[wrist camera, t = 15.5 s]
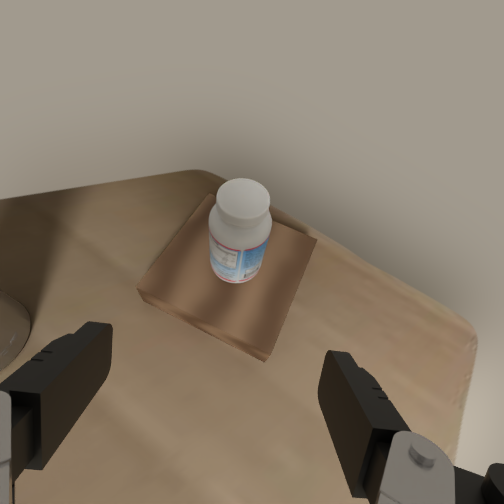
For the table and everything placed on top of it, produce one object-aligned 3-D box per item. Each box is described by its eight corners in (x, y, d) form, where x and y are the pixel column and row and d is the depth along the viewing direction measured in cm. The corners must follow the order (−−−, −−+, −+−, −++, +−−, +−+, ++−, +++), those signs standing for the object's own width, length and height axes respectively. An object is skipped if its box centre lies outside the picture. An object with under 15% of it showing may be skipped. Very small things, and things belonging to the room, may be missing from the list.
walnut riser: (143, 300, 34) (135, 286, 30) (209, 211, 42) (208, 192, 39) (264, 362, 32) (270, 354, 28) (308, 255, 40) (317, 239, 37)
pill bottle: (255, 238, 35) (271, 170, 26) (264, 282, 32) (286, 223, 23) (207, 242, 34) (205, 171, 25) (211, 287, 31) (211, 227, 22)
